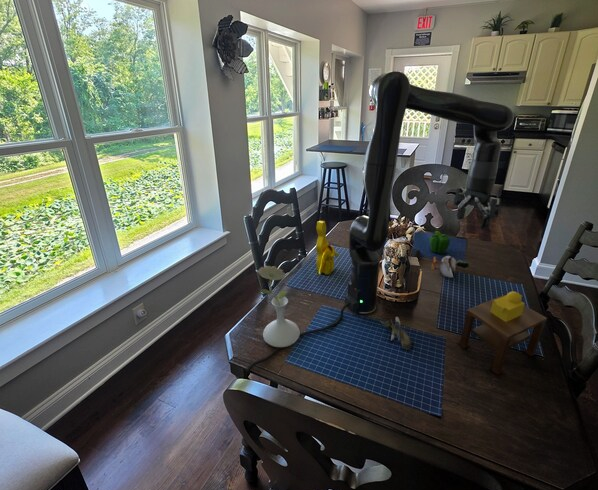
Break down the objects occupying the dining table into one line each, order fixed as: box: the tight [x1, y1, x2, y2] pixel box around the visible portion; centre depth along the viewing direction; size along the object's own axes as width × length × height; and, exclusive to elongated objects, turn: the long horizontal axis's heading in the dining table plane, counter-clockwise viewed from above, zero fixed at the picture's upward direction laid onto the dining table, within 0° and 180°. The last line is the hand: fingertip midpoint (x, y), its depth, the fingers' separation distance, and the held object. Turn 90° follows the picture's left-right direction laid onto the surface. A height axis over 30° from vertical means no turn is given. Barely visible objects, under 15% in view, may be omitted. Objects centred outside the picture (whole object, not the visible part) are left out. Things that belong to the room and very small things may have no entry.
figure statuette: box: [315, 220, 340, 275], centre depth 132 cm, size 18×8×22 cm, turn 148°
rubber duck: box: [490, 291, 526, 322], centre depth 87 cm, size 8×5×6 cm, turn 115°
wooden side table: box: [458, 294, 548, 375], centre depth 91 cm, size 16×12×13 cm
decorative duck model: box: [430, 255, 470, 279], centre depth 129 cm, size 15×8×15 cm
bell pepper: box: [429, 230, 451, 254], centre depth 147 cm, size 8×8×10 cm
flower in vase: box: [257, 265, 301, 349], centre depth 96 cm, size 13×11×25 cm
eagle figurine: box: [380, 316, 413, 350], centre depth 97 cm, size 8×7×9 cm
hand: (471, 223), depth 104 cm, fingers open, 8 cm apart
